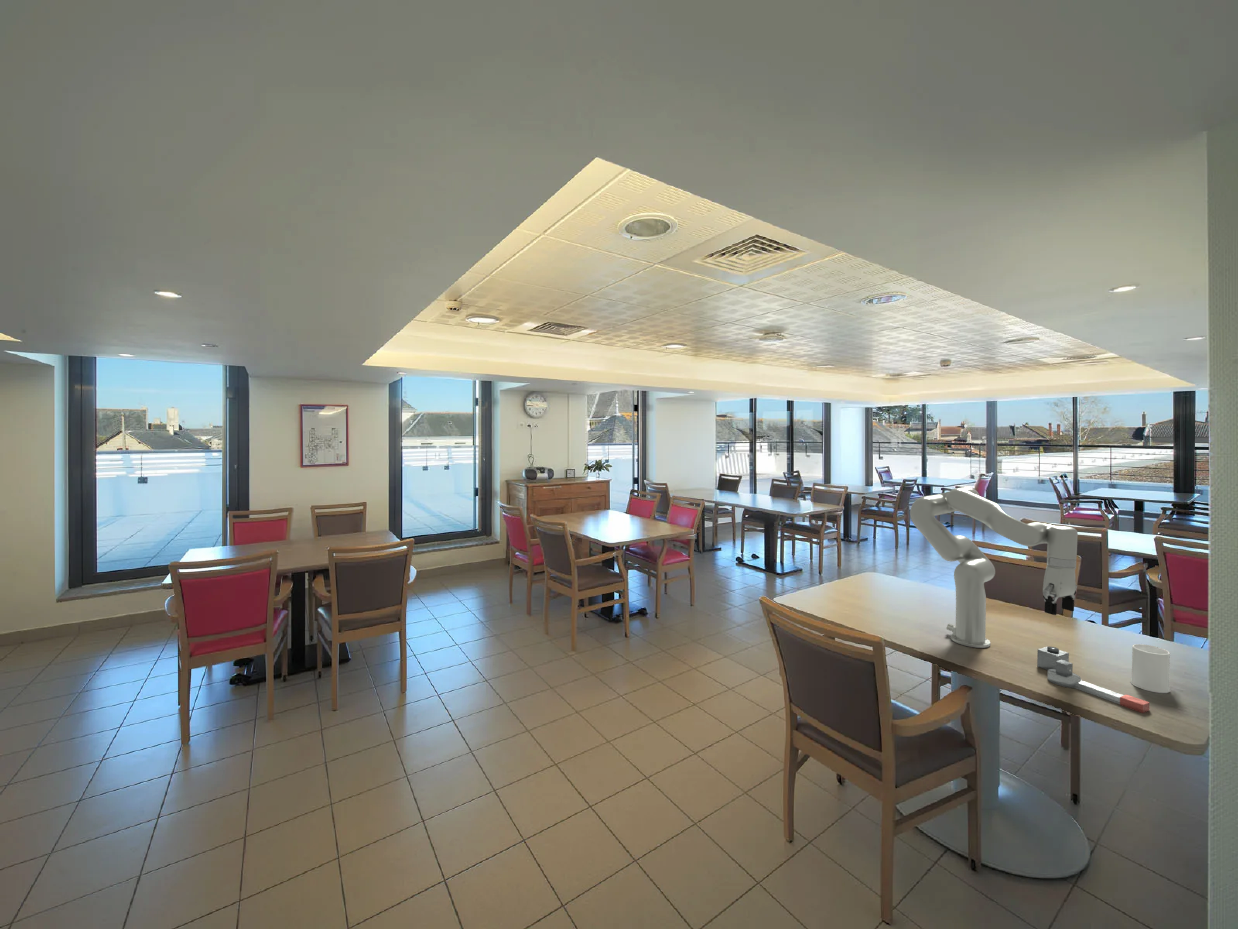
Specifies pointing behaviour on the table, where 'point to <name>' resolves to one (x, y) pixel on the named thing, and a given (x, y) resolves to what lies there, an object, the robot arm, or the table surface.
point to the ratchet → (1092, 687)
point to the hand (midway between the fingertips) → (1059, 611)
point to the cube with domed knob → (1050, 657)
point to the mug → (1150, 668)
